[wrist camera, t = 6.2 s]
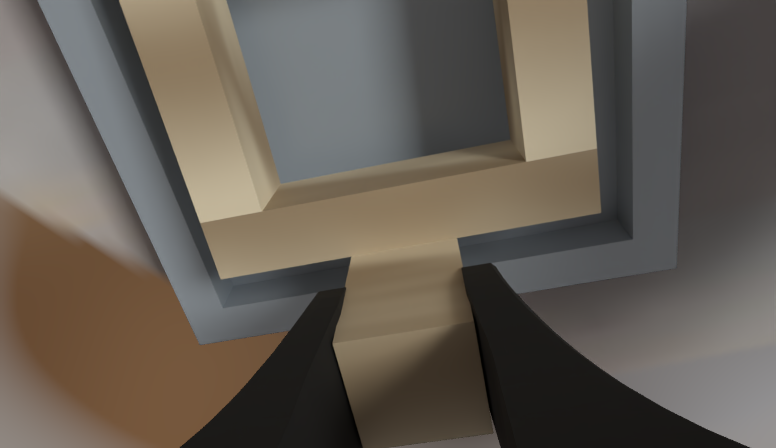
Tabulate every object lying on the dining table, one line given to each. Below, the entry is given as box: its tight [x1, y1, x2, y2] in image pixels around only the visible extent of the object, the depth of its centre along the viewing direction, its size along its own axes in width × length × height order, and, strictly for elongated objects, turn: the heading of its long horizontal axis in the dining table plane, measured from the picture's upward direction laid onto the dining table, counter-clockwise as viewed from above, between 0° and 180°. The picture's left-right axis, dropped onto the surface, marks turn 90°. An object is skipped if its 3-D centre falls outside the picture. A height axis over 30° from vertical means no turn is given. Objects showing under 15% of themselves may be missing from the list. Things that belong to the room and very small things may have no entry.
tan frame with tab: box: [119, 0, 601, 448], centre depth 11 cm, size 12×9×6 cm
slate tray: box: [37, 0, 687, 345], centre depth 14 cm, size 14×14×2 cm
